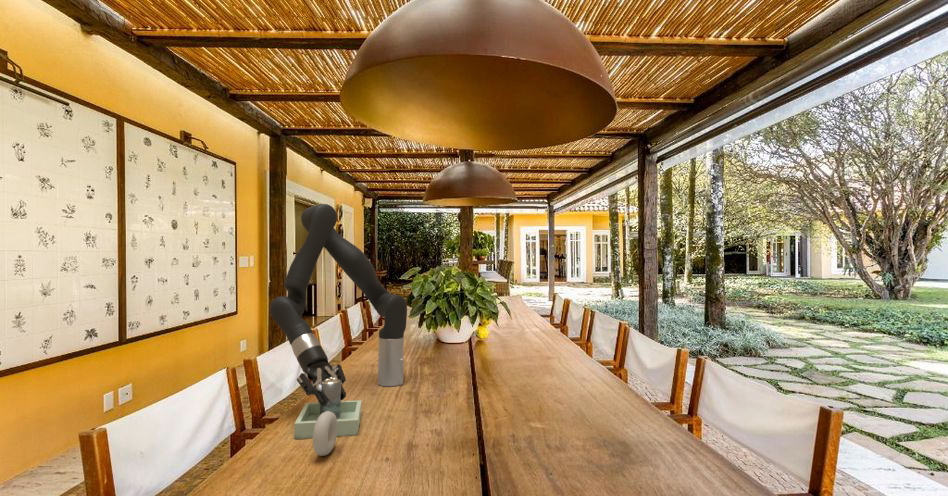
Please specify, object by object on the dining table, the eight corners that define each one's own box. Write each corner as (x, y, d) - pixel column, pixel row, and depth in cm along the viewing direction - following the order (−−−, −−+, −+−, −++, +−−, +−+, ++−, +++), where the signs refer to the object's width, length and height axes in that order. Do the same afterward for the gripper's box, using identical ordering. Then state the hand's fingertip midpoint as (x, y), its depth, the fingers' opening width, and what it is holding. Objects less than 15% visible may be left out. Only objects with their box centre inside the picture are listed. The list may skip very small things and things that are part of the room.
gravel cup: (341, 412, 126) (342, 374, 126) (339, 420, 120) (340, 380, 120) (321, 413, 125) (321, 375, 125) (318, 421, 119) (319, 381, 119)
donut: (325, 444, 110) (326, 404, 110) (339, 445, 110) (340, 405, 110) (309, 463, 100) (310, 419, 100) (324, 464, 100) (325, 420, 100)
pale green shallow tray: (361, 413, 132) (361, 400, 132) (357, 435, 116) (358, 419, 116) (305, 416, 129) (305, 402, 129) (294, 439, 113) (294, 423, 113)
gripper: (292, 348, 121) (319, 400, 114) (335, 340, 133) (361, 387, 126) (281, 365, 124) (306, 416, 117) (323, 355, 136) (348, 402, 129)
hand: (334, 401), depth 122 cm, fingers closed on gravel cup, 5 cm apart
